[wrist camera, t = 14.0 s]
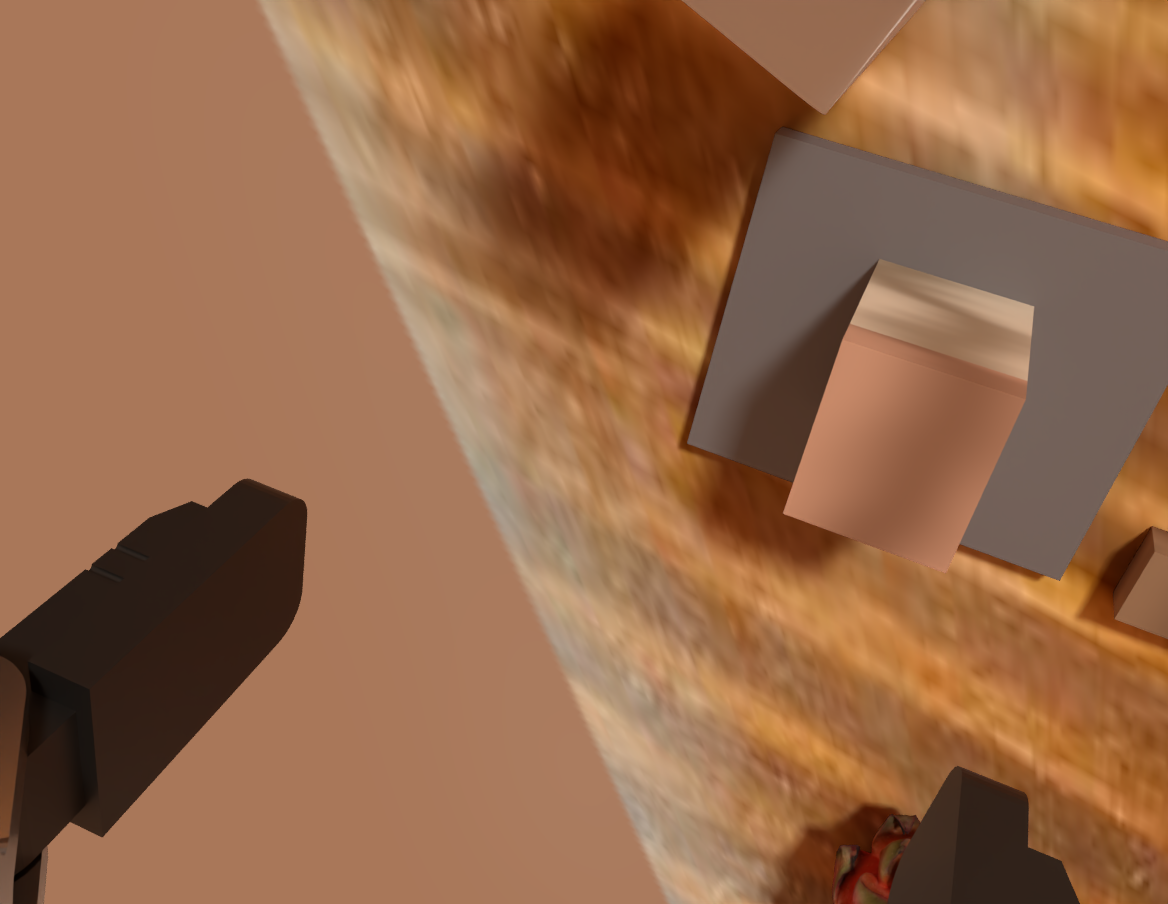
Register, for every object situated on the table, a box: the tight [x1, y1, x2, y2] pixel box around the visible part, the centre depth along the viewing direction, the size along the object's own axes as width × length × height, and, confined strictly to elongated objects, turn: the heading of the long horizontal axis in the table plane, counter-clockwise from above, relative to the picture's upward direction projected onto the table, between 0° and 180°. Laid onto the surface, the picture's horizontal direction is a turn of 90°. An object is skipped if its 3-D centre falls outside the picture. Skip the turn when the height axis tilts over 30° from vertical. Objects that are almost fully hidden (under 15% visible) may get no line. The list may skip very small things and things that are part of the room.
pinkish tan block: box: [783, 259, 1034, 573], centre depth 34 cm, size 5×8×9 cm, turn 169°
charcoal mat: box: [687, 127, 1168, 581], centre depth 38 cm, size 14×12×1 cm
